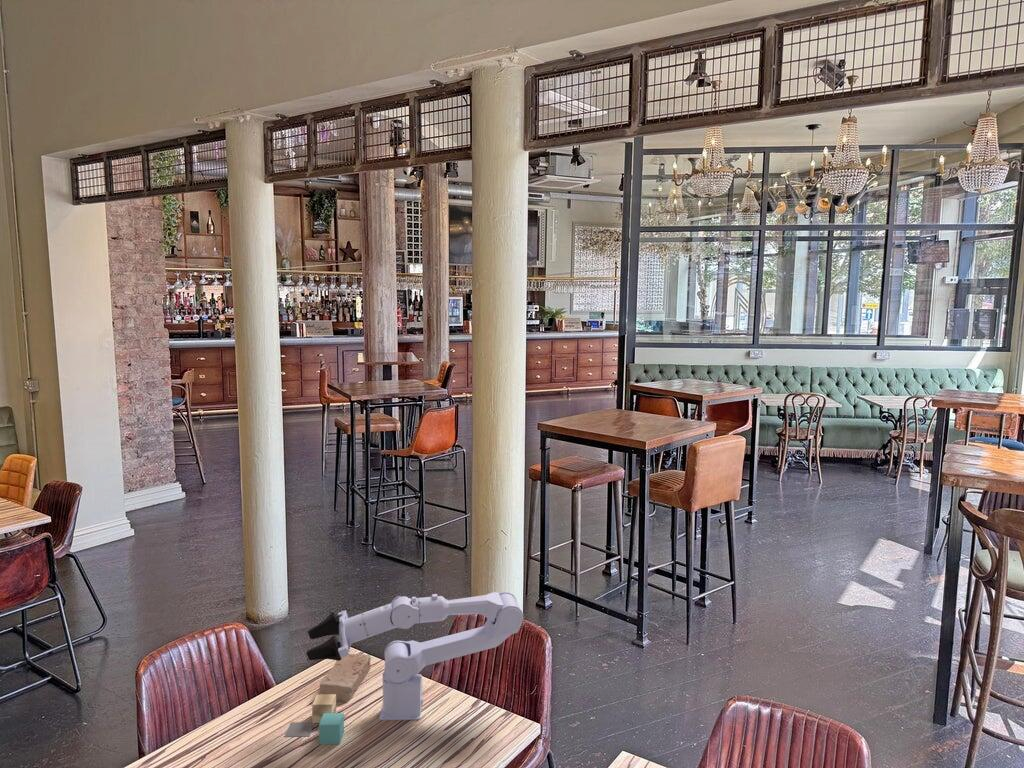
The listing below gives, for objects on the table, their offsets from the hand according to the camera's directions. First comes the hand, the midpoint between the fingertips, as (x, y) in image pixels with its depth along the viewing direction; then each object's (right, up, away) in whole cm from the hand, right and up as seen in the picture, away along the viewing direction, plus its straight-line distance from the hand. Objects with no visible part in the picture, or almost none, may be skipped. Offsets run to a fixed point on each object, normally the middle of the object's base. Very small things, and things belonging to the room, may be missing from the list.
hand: (308, 645), depth 161 cm
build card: (+3, -19, -2) cm, 19 cm away
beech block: (+3, -18, +2) cm, 18 cm away
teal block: (+7, -19, -6) cm, 21 cm away
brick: (+5, -17, +18) cm, 25 cm away
